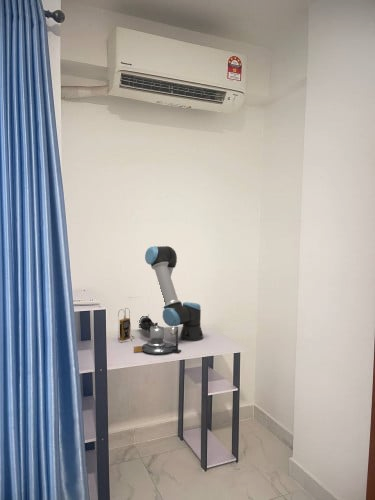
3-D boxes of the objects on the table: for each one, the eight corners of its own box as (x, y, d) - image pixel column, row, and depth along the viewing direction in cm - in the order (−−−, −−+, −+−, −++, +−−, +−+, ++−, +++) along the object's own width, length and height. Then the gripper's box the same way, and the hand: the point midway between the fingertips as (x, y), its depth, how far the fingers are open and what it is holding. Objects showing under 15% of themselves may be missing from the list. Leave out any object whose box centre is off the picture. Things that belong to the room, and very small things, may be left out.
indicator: (181, 351, 213) (181, 326, 212) (178, 353, 208) (178, 328, 208) (169, 349, 215) (170, 325, 215) (166, 352, 210) (166, 327, 210)
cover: (163, 341, 226) (163, 323, 226) (168, 346, 216) (168, 327, 215) (145, 342, 223) (145, 324, 222) (149, 347, 212) (149, 329, 212)
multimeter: (127, 344, 226) (127, 311, 226) (115, 341, 232) (115, 310, 231) (142, 338, 239) (142, 308, 238) (130, 336, 244) (130, 306, 244)
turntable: (170, 343, 227) (170, 339, 227) (179, 352, 209) (179, 348, 208) (131, 346, 220) (131, 342, 220) (137, 356, 201) (137, 352, 201)
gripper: (155, 327, 250) (164, 336, 228) (136, 328, 246) (143, 338, 224) (155, 316, 250) (164, 324, 228) (136, 317, 246) (143, 326, 224)
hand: (153, 331), depth 226 cm, fingers closed
